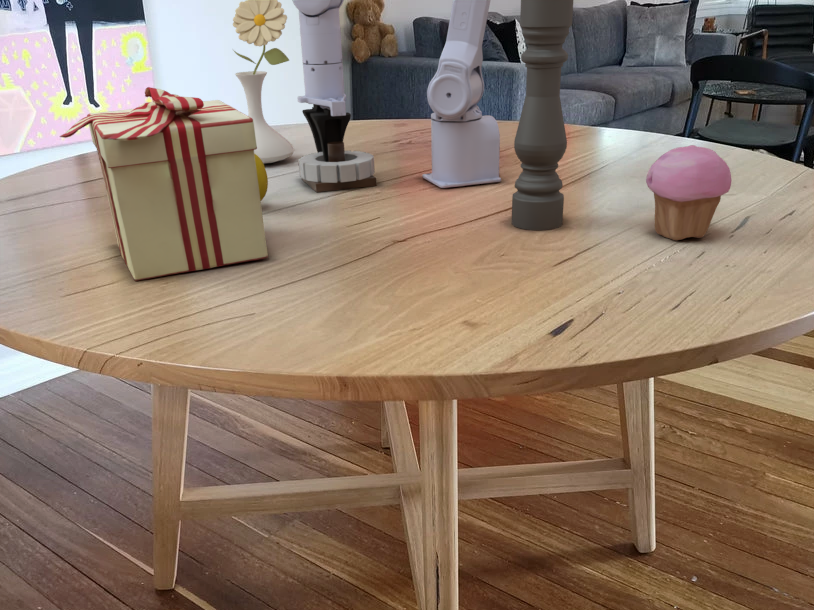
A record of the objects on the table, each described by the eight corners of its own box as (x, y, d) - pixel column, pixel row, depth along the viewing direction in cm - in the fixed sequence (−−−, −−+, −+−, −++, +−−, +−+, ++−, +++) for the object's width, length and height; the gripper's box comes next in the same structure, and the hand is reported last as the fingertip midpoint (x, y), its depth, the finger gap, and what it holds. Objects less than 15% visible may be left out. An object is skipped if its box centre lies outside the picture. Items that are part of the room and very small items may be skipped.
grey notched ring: (360, 163, 128) (359, 147, 127) (384, 177, 119) (383, 160, 118) (292, 171, 124) (291, 154, 123) (312, 185, 116) (310, 168, 114)
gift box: (79, 251, 95) (44, 92, 87) (234, 226, 103) (215, 78, 94) (110, 294, 82) (71, 111, 73) (284, 261, 89) (267, 93, 81)
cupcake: (697, 223, 98) (709, 136, 94) (737, 244, 91) (752, 150, 86) (627, 229, 97) (636, 141, 92) (663, 251, 89) (674, 156, 84)
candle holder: (566, 217, 102) (580, -9, 90) (557, 231, 97) (571, -7, 85) (517, 214, 104) (525, -8, 92) (505, 228, 99) (512, -6, 87)
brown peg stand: (358, 173, 127) (356, 135, 125) (376, 185, 120) (374, 145, 117) (301, 179, 125) (298, 140, 122) (316, 192, 117) (313, 151, 114)
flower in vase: (212, 167, 134) (188, -5, 123) (249, 153, 144) (231, -7, 132) (282, 171, 130) (264, -6, 118) (316, 157, 139) (303, -9, 127)
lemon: (262, 216, 107) (255, 152, 103) (222, 214, 108) (213, 151, 104) (276, 205, 111) (270, 144, 108) (238, 204, 112) (230, 143, 109)
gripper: (284, 60, 123) (292, 153, 129) (307, 69, 111) (315, 171, 117) (330, 57, 125) (336, 149, 131) (357, 65, 113) (363, 166, 119)
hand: (329, 159), depth 125 cm, fingers open, 3 cm apart
